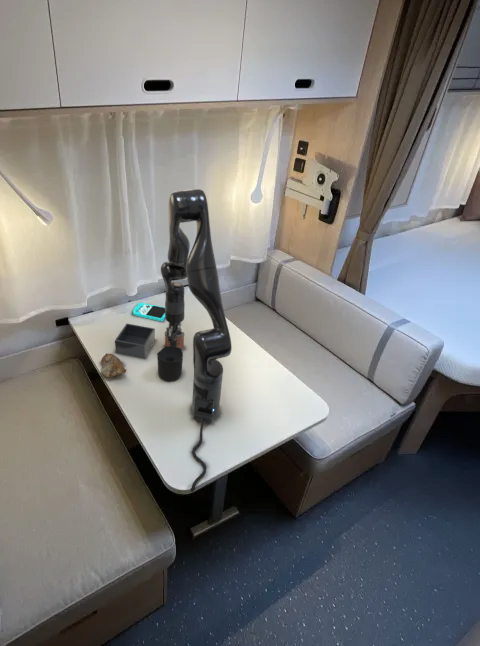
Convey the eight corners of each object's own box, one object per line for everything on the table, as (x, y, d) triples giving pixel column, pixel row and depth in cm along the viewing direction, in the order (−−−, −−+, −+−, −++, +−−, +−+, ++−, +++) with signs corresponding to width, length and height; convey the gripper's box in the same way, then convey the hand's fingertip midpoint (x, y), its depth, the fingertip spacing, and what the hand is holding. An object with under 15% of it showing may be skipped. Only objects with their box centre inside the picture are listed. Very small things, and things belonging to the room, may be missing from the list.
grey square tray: (144, 358, 159) (144, 346, 155) (115, 352, 162) (114, 340, 158) (155, 340, 169) (154, 328, 165) (127, 335, 172) (126, 323, 168)
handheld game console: (139, 303, 193) (139, 301, 192) (170, 310, 188) (170, 307, 187) (130, 314, 185) (130, 312, 184) (162, 321, 180) (162, 319, 180)
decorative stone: (106, 375, 143) (92, 355, 155) (108, 384, 145) (94, 365, 157) (130, 366, 147) (115, 348, 159) (132, 375, 149) (116, 357, 161)
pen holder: (184, 380, 148) (185, 360, 143) (160, 384, 146) (159, 363, 141) (179, 364, 156) (179, 344, 150) (155, 367, 154) (155, 347, 148)
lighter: (184, 345, 166) (184, 326, 160) (183, 350, 163) (184, 331, 157) (165, 344, 166) (165, 324, 161) (164, 349, 163) (164, 329, 158)
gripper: (170, 297, 161) (170, 332, 170) (159, 316, 149) (160, 352, 159) (188, 300, 159) (187, 335, 168) (179, 320, 147) (178, 356, 157)
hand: (174, 343), depth 163 cm, fingers closed on lighter, 3 cm apart
